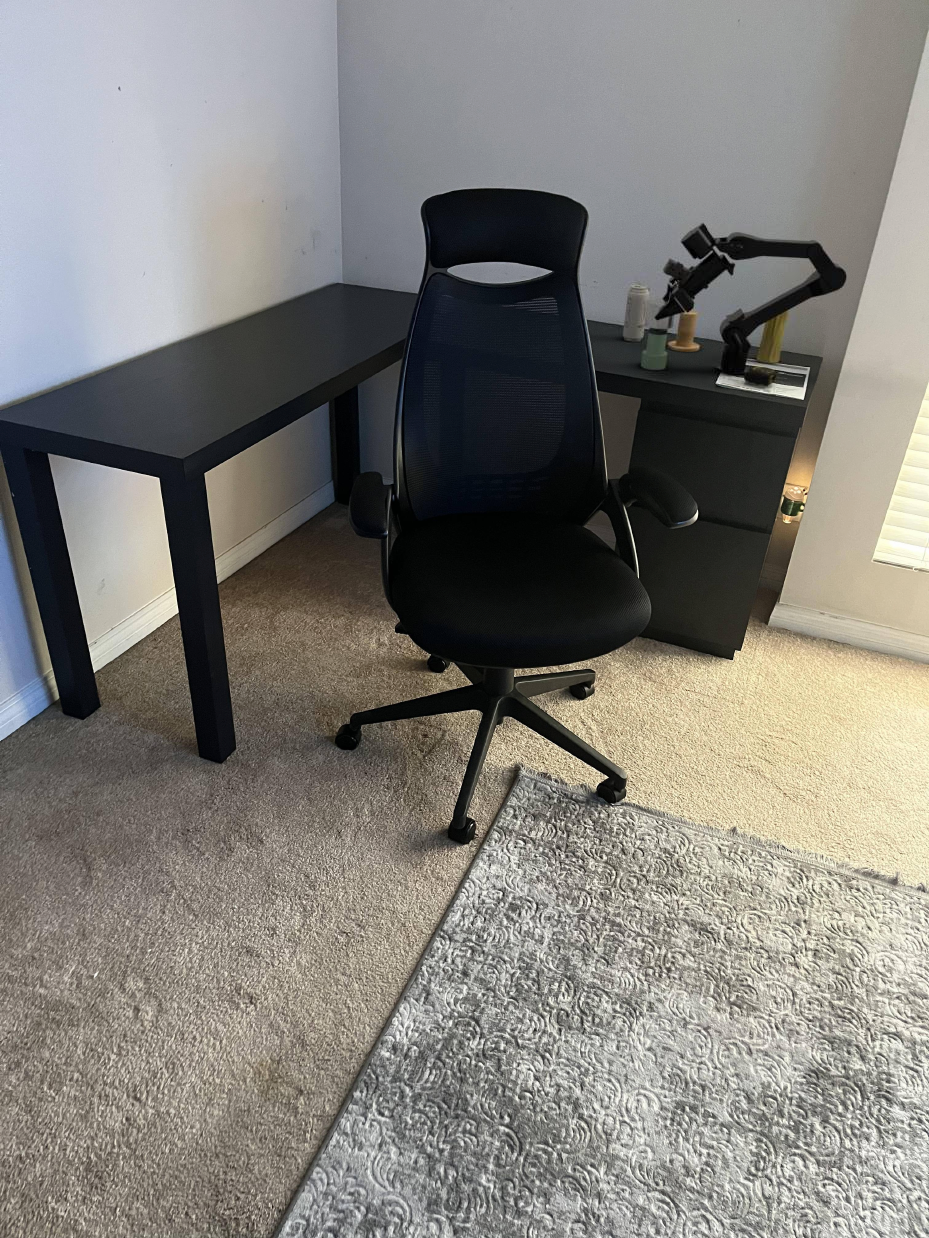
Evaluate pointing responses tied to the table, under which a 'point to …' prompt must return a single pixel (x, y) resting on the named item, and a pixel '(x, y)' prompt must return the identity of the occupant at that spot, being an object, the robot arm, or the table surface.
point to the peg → (685, 333)
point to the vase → (772, 339)
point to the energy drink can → (635, 313)
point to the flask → (655, 350)
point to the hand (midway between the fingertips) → (654, 315)
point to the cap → (653, 309)
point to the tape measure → (760, 376)
